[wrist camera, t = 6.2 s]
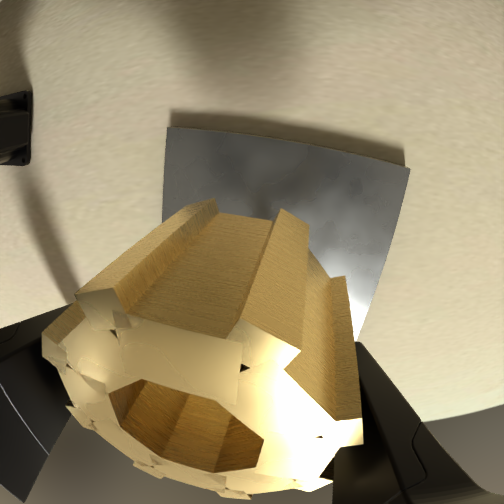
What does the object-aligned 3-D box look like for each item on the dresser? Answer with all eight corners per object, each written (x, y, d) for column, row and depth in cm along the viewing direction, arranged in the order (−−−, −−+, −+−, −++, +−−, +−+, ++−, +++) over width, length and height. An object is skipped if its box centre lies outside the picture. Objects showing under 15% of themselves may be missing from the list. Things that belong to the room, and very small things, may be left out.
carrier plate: (168, 314, 23) (146, 346, 20) (174, 126, 18) (142, 130, 14) (346, 352, 22) (349, 391, 18) (405, 166, 16) (429, 178, 12)
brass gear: (149, 355, 12) (89, 449, 7) (137, 187, 9) (11, 255, 4) (316, 392, 11) (306, 509, 6) (370, 224, 8) (424, 345, 4)
